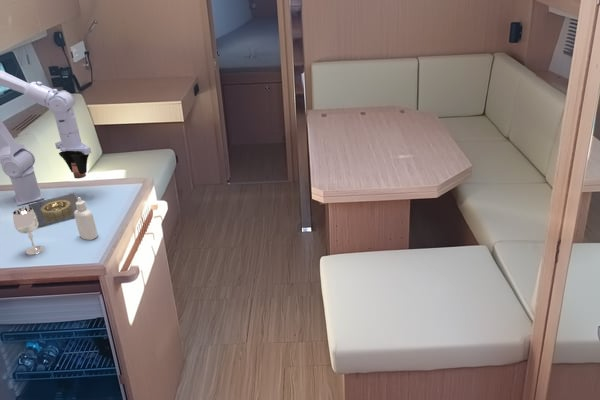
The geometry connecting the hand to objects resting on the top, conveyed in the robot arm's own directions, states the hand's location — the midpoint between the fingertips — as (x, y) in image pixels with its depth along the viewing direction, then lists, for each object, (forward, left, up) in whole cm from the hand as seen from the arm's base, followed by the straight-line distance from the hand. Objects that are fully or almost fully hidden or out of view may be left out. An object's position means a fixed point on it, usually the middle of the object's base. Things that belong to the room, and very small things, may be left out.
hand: (79, 172), depth 178 cm
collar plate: (+6, -10, -8) cm, 14 cm away
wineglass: (+29, -19, -9) cm, 36 cm away
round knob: (0, 0, -1) cm, 1 cm away
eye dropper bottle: (+30, -5, -9) cm, 32 cm away
